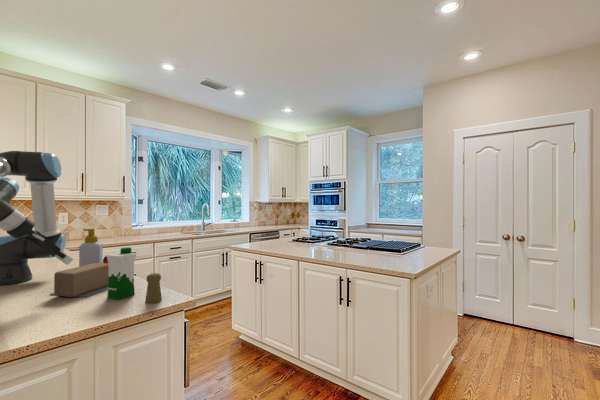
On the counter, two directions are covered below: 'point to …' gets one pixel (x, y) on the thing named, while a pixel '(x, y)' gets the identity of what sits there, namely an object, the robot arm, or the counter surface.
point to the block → (81, 279)
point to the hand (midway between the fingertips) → (69, 261)
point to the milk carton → (121, 274)
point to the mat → (91, 292)
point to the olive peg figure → (153, 289)
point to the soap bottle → (90, 249)
